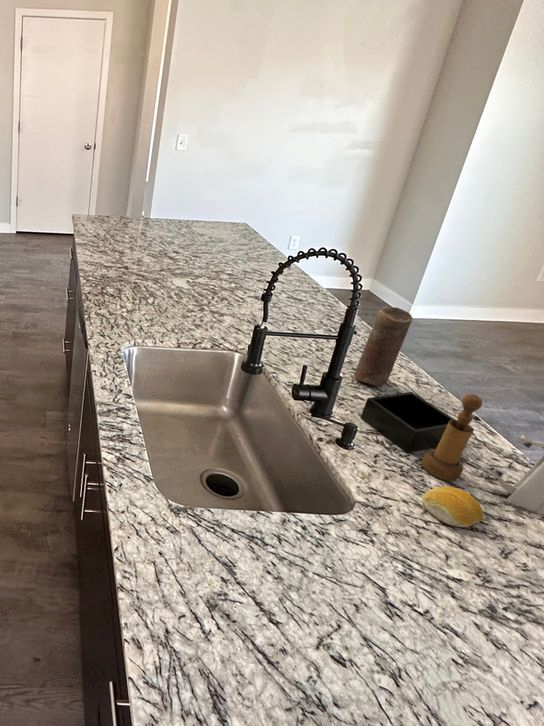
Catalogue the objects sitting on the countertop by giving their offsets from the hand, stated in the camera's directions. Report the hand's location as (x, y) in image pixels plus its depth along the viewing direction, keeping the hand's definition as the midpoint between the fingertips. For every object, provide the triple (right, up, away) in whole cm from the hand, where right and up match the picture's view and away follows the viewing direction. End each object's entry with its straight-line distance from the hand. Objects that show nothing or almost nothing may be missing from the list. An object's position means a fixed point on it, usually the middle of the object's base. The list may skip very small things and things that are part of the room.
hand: (505, 453), depth 104 cm
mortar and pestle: (-8, -5, +6) cm, 11 cm away
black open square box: (-8, +1, +17) cm, 19 cm away
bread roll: (-15, -10, -5) cm, 18 cm away
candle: (-4, +9, +36) cm, 37 cm away
